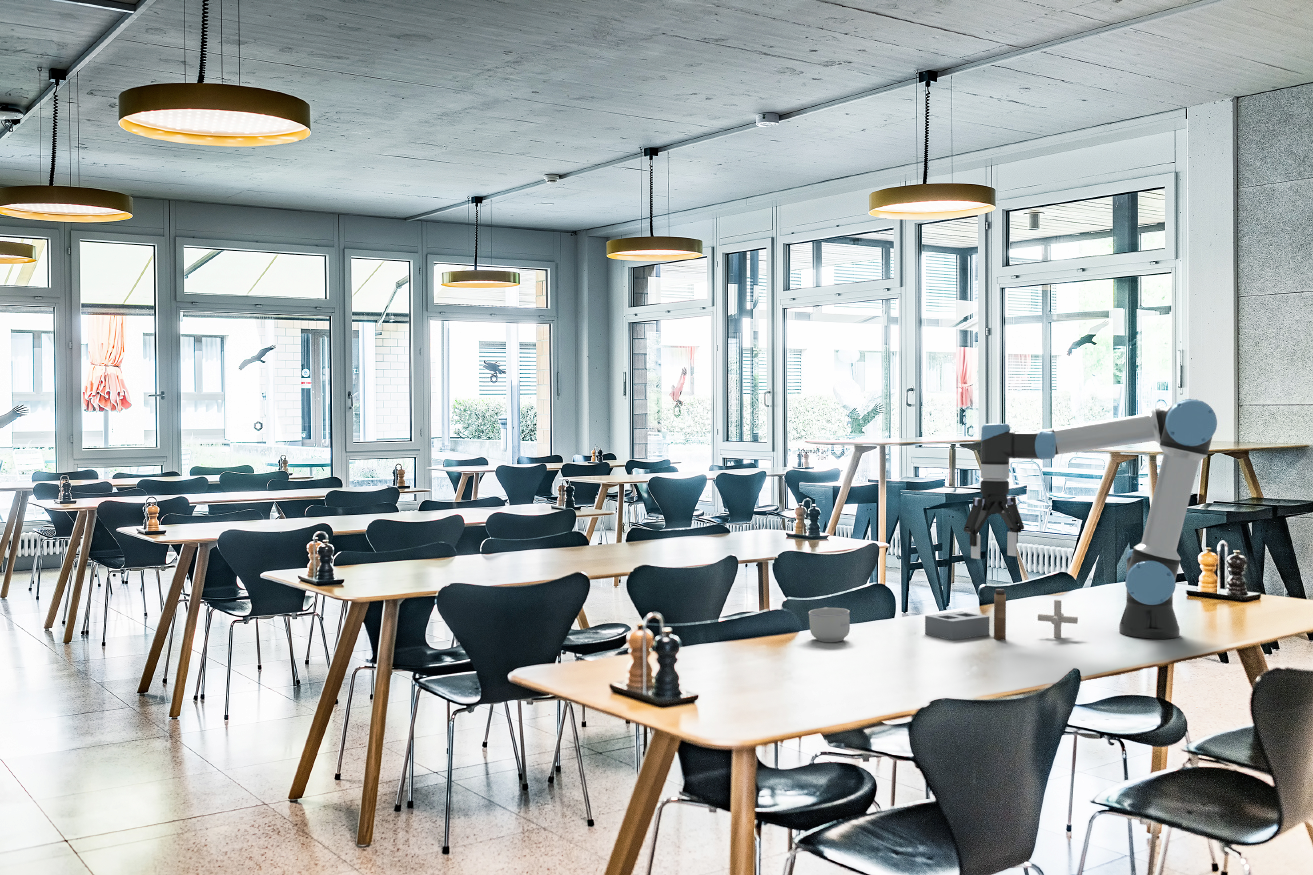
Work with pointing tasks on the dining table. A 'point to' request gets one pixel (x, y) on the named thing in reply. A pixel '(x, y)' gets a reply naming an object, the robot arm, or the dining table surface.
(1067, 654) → the dining table surface
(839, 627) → the teacup
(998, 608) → the peg
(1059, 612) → the pipe connector
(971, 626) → the holder block
